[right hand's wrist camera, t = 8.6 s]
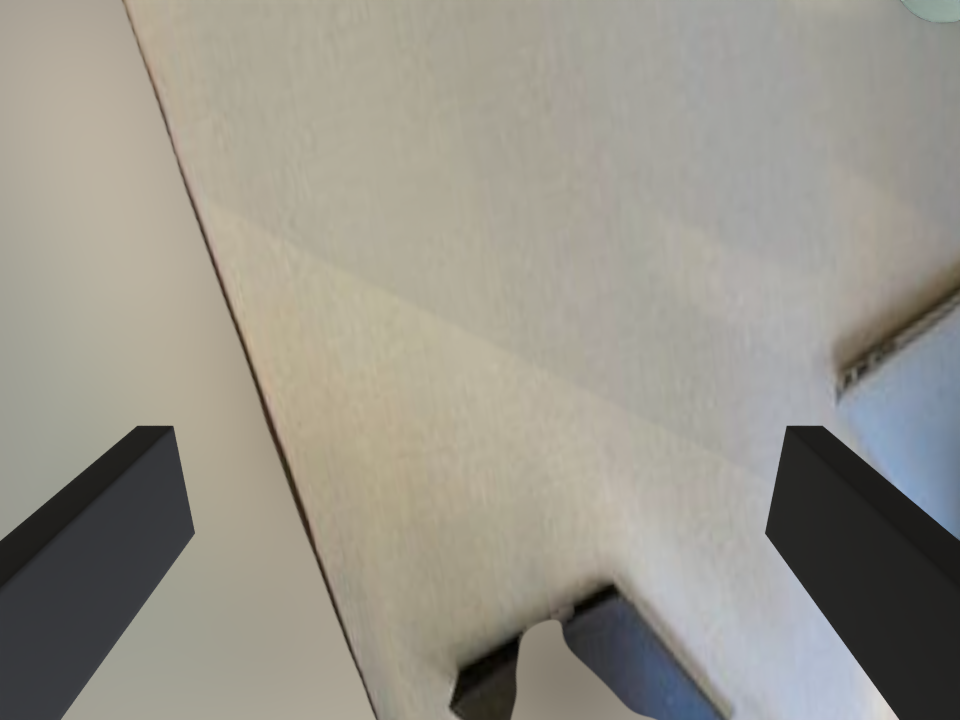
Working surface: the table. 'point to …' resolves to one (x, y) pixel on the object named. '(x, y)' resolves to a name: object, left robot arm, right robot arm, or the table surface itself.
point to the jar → (935, 9)
